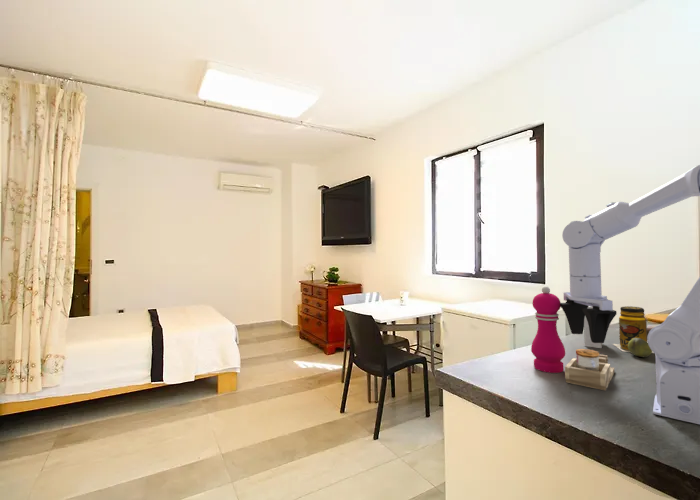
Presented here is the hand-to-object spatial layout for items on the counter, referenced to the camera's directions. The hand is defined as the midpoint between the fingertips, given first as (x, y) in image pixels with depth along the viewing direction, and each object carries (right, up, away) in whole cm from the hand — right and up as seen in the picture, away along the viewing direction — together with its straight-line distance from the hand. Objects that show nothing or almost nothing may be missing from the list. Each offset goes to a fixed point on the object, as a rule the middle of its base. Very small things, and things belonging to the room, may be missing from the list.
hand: (586, 338), depth 75 cm
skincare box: (+21, -9, +27) cm, 36 cm away
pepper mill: (-4, -10, +8) cm, 13 cm away
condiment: (+29, -9, +23) cm, 38 cm away
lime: (+25, -9, +15) cm, 31 cm away
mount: (+2, -9, +2) cm, 10 cm away
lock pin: (+7, -8, +7) cm, 12 cm away
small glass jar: (0, -8, 0) cm, 8 cm away
